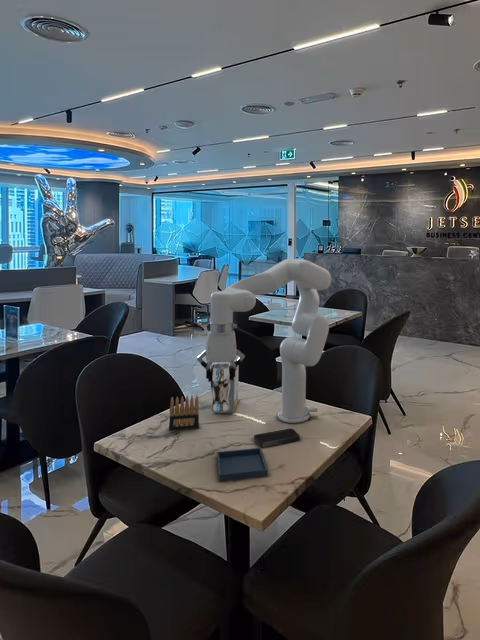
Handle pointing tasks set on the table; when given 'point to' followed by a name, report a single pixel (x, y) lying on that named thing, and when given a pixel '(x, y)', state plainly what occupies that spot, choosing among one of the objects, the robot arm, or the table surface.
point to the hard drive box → (233, 389)
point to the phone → (276, 437)
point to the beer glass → (220, 386)
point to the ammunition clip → (186, 420)
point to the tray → (241, 464)
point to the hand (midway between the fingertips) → (220, 379)
